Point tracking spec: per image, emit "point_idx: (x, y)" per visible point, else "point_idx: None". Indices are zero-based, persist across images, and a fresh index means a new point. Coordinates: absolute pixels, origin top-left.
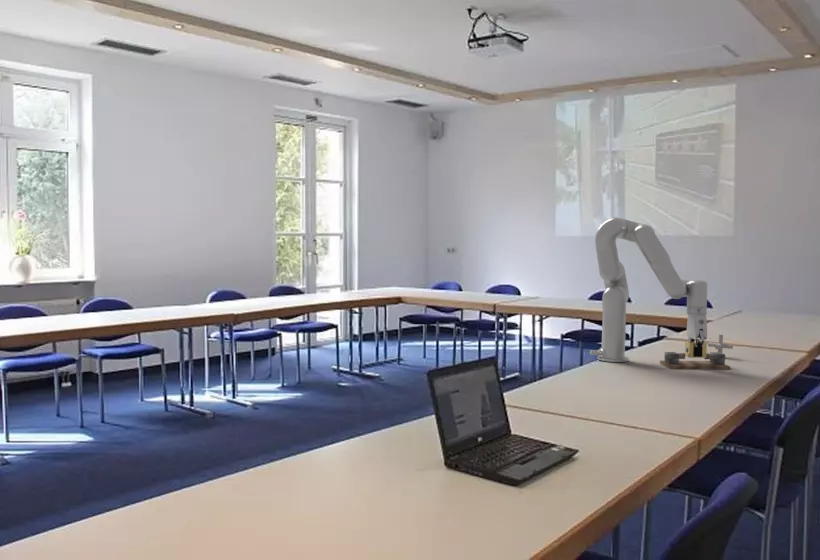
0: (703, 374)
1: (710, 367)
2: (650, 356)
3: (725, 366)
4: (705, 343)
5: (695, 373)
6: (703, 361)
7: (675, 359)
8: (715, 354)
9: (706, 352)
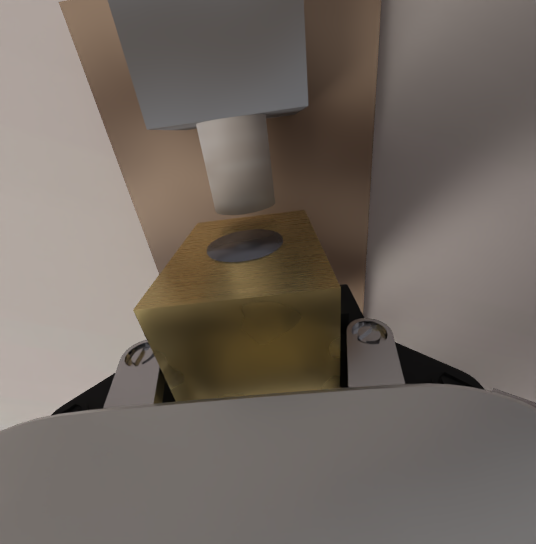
0: (526, 271)
1: (368, 178)
2: (10, 395)
3: (379, 17)
4: (340, 302)
5: (486, 304)
6: (147, 174)
7: None
8: (306, 101)
9: (312, 226)
